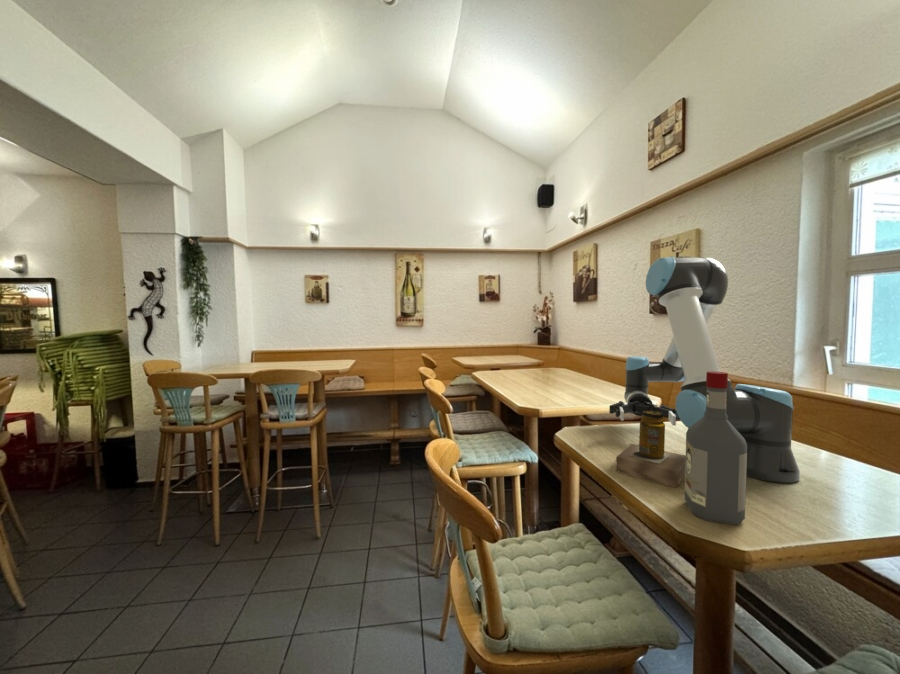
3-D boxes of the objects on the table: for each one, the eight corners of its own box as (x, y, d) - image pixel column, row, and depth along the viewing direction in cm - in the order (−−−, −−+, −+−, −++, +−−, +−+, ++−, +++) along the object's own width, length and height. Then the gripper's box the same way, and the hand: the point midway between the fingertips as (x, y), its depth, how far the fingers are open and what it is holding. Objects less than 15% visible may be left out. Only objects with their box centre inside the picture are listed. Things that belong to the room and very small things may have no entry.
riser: (686, 470, 96) (686, 455, 96) (676, 487, 86) (676, 471, 86) (631, 456, 106) (631, 443, 106) (616, 471, 95) (616, 456, 95)
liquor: (730, 505, 77) (734, 370, 76) (749, 528, 69) (754, 376, 68) (681, 498, 81) (685, 369, 79) (694, 519, 72) (698, 374, 71)
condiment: (669, 455, 96) (670, 412, 96) (660, 464, 90) (661, 418, 90) (640, 448, 101) (641, 407, 101) (629, 456, 96) (630, 413, 95)
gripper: (680, 417, 119) (697, 436, 100) (600, 410, 129) (601, 426, 109) (681, 395, 119) (698, 409, 99) (601, 390, 129) (602, 402, 109)
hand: (647, 418), depth 104 cm, fingers open, 13 cm apart
